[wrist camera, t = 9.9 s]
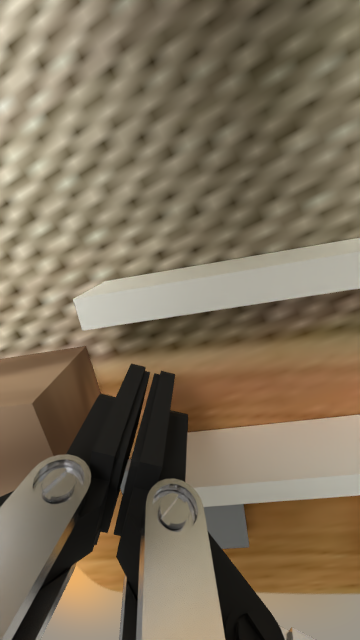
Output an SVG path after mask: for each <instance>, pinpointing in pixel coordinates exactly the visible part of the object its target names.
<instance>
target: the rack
mask: <svg viewBox="0 0 360 640" xmlns="http://www.w3.org/2000/svg"><path fill="white" fill-rule="evenodd" d="M359 288H360V238H355V239H349V240H343V241H337V242H332V243H326V244H320V245H314V246H308V247H302V248H296V249H291V250H285V251H279V252H273V253H267V254H261V255H256V256H250V257H244V258H238V259H232V260H226V261H220V262H215V263H209V264H203V265H197V266H191V267H185V268H180V269H174V270H168V271H162V272H156V273H150V274H144V275H139V276H133V277H127V278H121V279H115V280H109V281H104V282H103V283H101V284H99V285H97V286H95V287H94V288H92V289H90V290H88V291H86V292H85V293H83V294H81V295H79V296H77V297H76V298H74V299H73V301H74V304H75V307H76V311H77V314H78V317H79V321H80V324H81V327H82V330H89V329H96V328H103V327H109V326H116V325H122V324H129V323H135V322H142V321H149V320H155V319H162V318H168V317H175V316H181V315H188V314H195V313H201V312H208V311H214V310H221V309H228V308H234V307H241V306H247V305H254V304H260V303H267V302H274V301H280V300H287V299H293V298H300V297H306V296H313V295H320V294H326V293H333V292H339V291H346V290H352V289H359ZM185 482H186V483H187V484H189V485H190V486H191V487H193V488H194V489H195V490H196V492H197V493H198V495H199V496H200V498H201V500H202V504H203V507H210V506H224V505H237V504H250V503H264V502H277V501H291V500H304V499H317V498H331V497H344V496H358V495H360V415H350V416H341V417H331V418H322V419H312V420H303V421H293V422H284V423H274V424H265V425H255V426H246V427H236V428H226V429H217V430H207V431H198V432H188V433H187V454H186V477H185Z"/></svg>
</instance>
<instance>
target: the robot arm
mask: <svg viewBox="0 0 360 640" xmlns="http://www.w3.org/2000/svg"><path fill="white" fill-rule="evenodd" d="M149 375H150V372H147V371H145V367H143V366H139V365H135V364H131V365H130V367H129V370H128V372H127V374H126V376H125V378H124V381H123V383H122V385H121V387H120V390H119V392H118V394H117V396H116V397H112V396H108V395H103V394H100V395H99V396H98V397H97V399H96V401H95V403H94V404H93V406H92V408H91V410H90V412H89V414H88V415H87V417H86V419H85V421H84V423H83V424H82V426H81V428H80V430H79V432H78V433H77V435H76V437H75V439H74V441H73V442H72V444H71V446H70V448H69V450H68V451H67V453H66V454H65V455H56V456H53V457H49V458H47V459H46V460H44V461H42V462H40V463H39V464H38V465H37V466H36V467H35V468H34V469H33V470H32V471H31V472H30V473H29V474H28V475H27V477H26V478H25V479H24V480H23V481H22V482H21V484H20V485H19V486H18V487H17V488H16V489H15V490H14V491H12V492H10V493H8V494H5V495H3V496H1V497H0V640H41V638H42V636H43V634H44V631H45V629H46V627H47V625H48V623H49V621H50V619H51V617H52V615H53V613H54V611H55V609H56V607H57V605H58V602H59V600H60V598H61V596H62V594H63V592H64V590H65V588H66V586H67V584H68V582H69V580H70V577H71V575H72V573H73V571H74V569H75V566H76V563H77V562H78V561H79V560H81V559H82V558H83V557H85V556H86V555H88V554H89V553H90V552H92V551H93V547H94V545H97V541H98V538H99V535H100V532H105V533H108V530H109V526H110V523H111V519H112V516H113V512H114V509H115V505H116V502H117V498H118V495H119V491H120V487H121V484H122V480H123V477H124V473H125V470H126V466H127V463H128V459H129V456H130V452H131V449H132V445H133V442H134V438H135V434H136V430H137V426H138V422H139V418H140V414H141V409H142V405H143V401H144V396H145V392H146V388H147V384H148V379H149ZM174 379H175V374H172V373H168V372H164V371H161V373H160V375H159V374H154V377H153V381H152V385H151V388H150V392H149V396H148V399H147V403H146V407H145V410H144V414H143V418H142V421H141V425H140V429H139V432H138V436H137V440H136V443H135V447H134V451H133V455H132V459H131V463H130V467H129V471H128V475H127V479H126V483H125V488H124V492H123V496H122V500H121V505H120V509H119V513H118V517H117V522H116V526H115V530H114V535H119V536H121V538H120V542H119V546H118V551H117V556H116V557H117V559H118V561H119V563H120V565H121V567H122V569H123V571H124V573H125V578H124V586H123V599H122V610H121V623H120V635H119V640H316V639H314V638H312V637H310V636H308V635H306V634H305V633H303V632H301V631H299V630H297V629H295V628H293V627H292V628H291V629H290V630H287V629H285V628H283V627H281V626H279V625H278V623H277V622H276V620H275V618H274V617H273V615H272V614H271V612H270V611H269V610H268V608H267V607H266V606H265V605H264V603H263V602H262V601H261V599H260V598H259V597H258V596H257V594H256V593H255V592H254V590H253V589H252V588H251V586H250V585H249V584H248V582H247V581H246V580H245V579H244V577H243V576H242V575H241V573H240V572H239V571H238V569H237V568H236V567H235V566H234V564H233V563H232V562H231V560H230V559H229V558H228V556H227V555H226V554H225V553H224V551H223V550H222V549H221V547H220V546H219V545H218V544H217V542H216V541H215V540H214V538H213V537H212V536H211V534H210V533H209V532H208V530H207V524H206V518H205V512H204V507H203V504H202V500H201V498H200V496H199V495H198V493H197V492H196V490H195V489H194V488H193V487H191V486H190V485H189V484H187V483H186V482H185V477H186V454H187V431H188V414H184V413H180V412H175V411H171V410H170V408H171V400H172V393H173V386H174Z"/></svg>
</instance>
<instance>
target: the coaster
mask: <svg viewBox="0 0 360 640" xmlns="http://www.w3.org/2000/svg"><path fill="white" fill-rule="evenodd" d="M130 463H131V459H128V463H127V466H126V470H125V473H124V477H123V480H122V484H121V487H120V488H121V491H122V494H123V492H124V488H125V483H126V479H127V475H128V471H129V467H130ZM204 512H205V518H206V524H207V530H208V532H209V533H210V534H211V536H212V537H213V538H214V540H215V541H216V542H217V544H218V545H219V546H220V547H221V549H228V548H245V547H249V540H248V533H247V526H246V519H245V512H244V505H243V504H237V505H224V506H210V507H204Z"/></svg>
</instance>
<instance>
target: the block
mask: <svg viewBox="0 0 360 640" xmlns="http://www.w3.org/2000/svg"><path fill="white" fill-rule="evenodd" d="M100 394H101V392H100V389H99V386H98V383H97V380H96V377H95V373H94V370H93V367H92V364H91V361H90V357H89V354H88V351H87V348H86V346H84V347H77V348H71V349H64V350H58V351H51V352H44V353H38V354H31V355H25V356H18V357H11V358H5V359H0V497H1V496H3V495H5V494H8V493H10V492H12V491H14V490H15V489H16V488H17V487H18V486H19V485H20V484H21V482H22V481H23V480H24V479H25V478H26V477H27V475H28V474H29V473H30V472H31V471H32V470H33V469H34V468H35V467H36V466H37V465H38V464H39V463H40V462H42V461H44V460H46V459H47V458H49V457H53V456H56V455H65V454H66V453H67V451H68V450H69V448H70V446H71V444H72V442H73V441H74V439H75V437H76V435H77V433H78V432H79V430H80V428H81V426H82V424H83V423H84V421H85V419H86V417H87V415H88V414H89V412H90V410H91V408H92V406H93V404H94V403H95V401H96V399H97V397H98V396H99V395H100Z"/></svg>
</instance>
